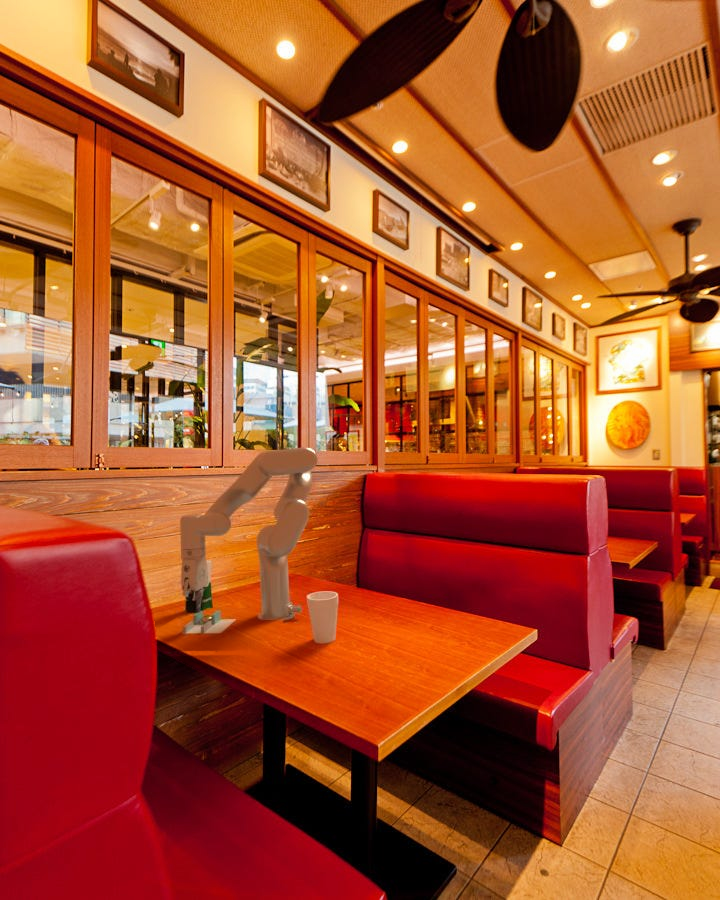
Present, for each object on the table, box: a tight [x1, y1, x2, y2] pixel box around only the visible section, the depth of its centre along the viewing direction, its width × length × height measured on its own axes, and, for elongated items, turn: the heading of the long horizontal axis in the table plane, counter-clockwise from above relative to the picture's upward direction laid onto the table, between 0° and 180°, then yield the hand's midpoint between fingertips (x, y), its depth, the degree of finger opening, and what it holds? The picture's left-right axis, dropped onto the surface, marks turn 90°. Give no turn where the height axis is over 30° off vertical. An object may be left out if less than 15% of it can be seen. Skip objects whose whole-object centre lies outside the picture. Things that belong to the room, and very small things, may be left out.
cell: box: [190, 589, 202, 614], centre depth 158 cm, size 4×4×8 cm
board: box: [180, 610, 236, 635], centre depth 161 cm, size 13×13×4 cm
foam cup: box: [306, 590, 340, 644], centre depth 147 cm, size 10×9×13 cm
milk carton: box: [184, 560, 214, 612], centre depth 183 cm, size 9×9×20 cm
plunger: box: [201, 614, 212, 622], centre depth 166 cm, size 4×4×1 cm
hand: (194, 610), depth 158 cm, fingers closed on cell, 3 cm apart
